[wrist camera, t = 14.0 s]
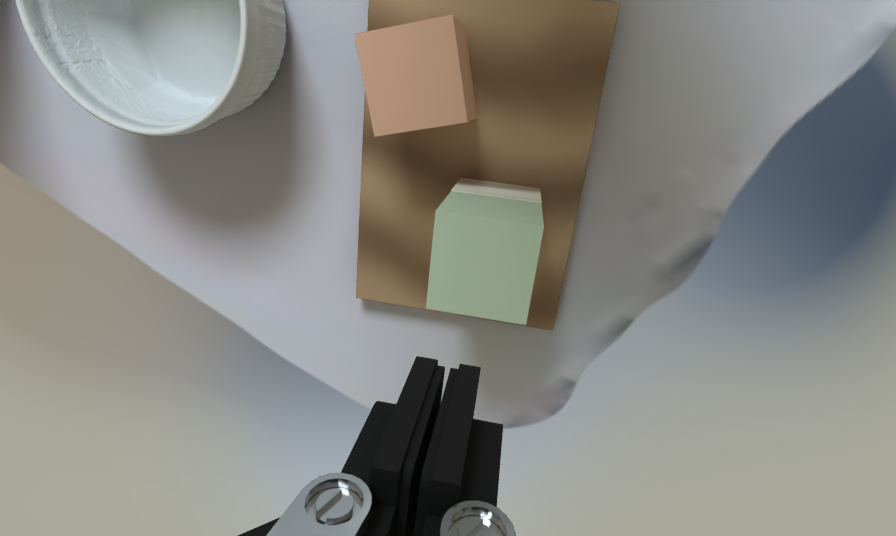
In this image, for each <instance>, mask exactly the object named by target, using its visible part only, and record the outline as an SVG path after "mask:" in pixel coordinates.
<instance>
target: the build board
mask: <svg viewBox="0 0 896 536" xmlns="http://www.w3.org/2000/svg"><path fill="white" fill-rule="evenodd" d="M619 5H620V3H618V2H607V1H596V0H369V9H368V31H372V30H377V29H382V28H387V27H392V26H397V25H402V24H407V23H412V22H417V21H422V20H427V19H432V18H437V17H442V16H447V15H452V14H453V15H454V16H455V17H456V18H457V19H458V20H459V21H460V22H461V23H462V24H463V25H464V26H465V28H466V35H467V43H468V51H469V59H470V66H471V74H472V82H473V90H474V97H475V105H476V113H477V118H475V119H473V120H471V121H469V122H467V123H460V124H454V125H447V126H441V127H434V128H428V129H421V130H415V131H408V132H402V133H395V134H389V135H382V136H376V137H374V132H373V127H372V122H371V117H370V111H369V106H368V101H367V96H366V91H365V101H364V124H363V147H362V170H361V193H360V217H359V240H358V263H357V286H356V298H360V299H366V300H372V301H379V302H385V303H391V304H397V305H403V306H409V307H415V308H421V309H426V301H427V291H428V281H429V271H430V261H431V251H432V241H433V231H434V221H435V211H436V210H437V208H438V207H439V206H440V205H441V203H442V202H443V201H444V199H445V198H446V197H447V196H448V194H449V193H450V192H451V191H458V192H465V193H472V194H479V195H487V196H494V197H501V198H508V199H515V200H523V201H530V202H537V203H542V213H543V222H544V230H543V235H542V241H541V246H540V252H539V257H538V263H537V268H536V273H535V279H534V284H533V290H532V295H531V301H530V306H529V312H528V317H527V323H526V325H524V326H530V327H536V328H542V329H548V330H553V327H554V322H555V318H556V313H557V308H558V303H559V298H560V293H561V288H562V283H563V278H564V274H565V269H566V264H567V259H568V254H569V249H570V244H571V239H572V235H573V230H574V225H575V220H576V215H577V210H578V205H579V200H580V196H581V191H582V186H583V181H584V176H585V171H586V166H587V161H588V156H589V152H590V147H591V142H592V137H593V132H594V127H595V122H596V117H597V113H598V108H599V103H600V98H601V93H602V88H603V83H604V78H605V74H606V69H607V64H608V59H609V54H610V49H611V44H612V39H613V34H614V30H615V25H616V20H617V15H618V10H619ZM427 310H432V309H427ZM433 311H438V310H433ZM439 312H444V311H439ZM445 313H450V312H445ZM451 314H456V313H451ZM457 315H462V314H457ZM463 316H468V315H463ZM469 317H474V316H469ZM475 318H480V317H475ZM481 319H486V318H481ZM487 320H492V319H487ZM493 321H498V320H493ZM499 322H504V321H499ZM506 323H510V322H506ZM512 324H516V323H512ZM518 325H522V324H518Z"/></svg>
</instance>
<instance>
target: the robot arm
mask: <svg viewBox="0 0 896 536" xmlns="http://www.w3.org/2000/svg"><path fill="white" fill-rule="evenodd" d="M480 369H481V367H475V366H470V365H464V364H460V366H459V369H454V368H451V369H450V373H449V376H448V380H447V384H446V387H445V391H444V394H443V398H442V401H441V396H442V388H443V379H444V371H445V367H443V366H438V360H436V359H430V358H424V357H419V356H417V357H416V359H415V361H414V364H413V366H412V368H411V371H410V373H409V375H408V378H407V380H406V383H405V385H404V387H403V390H402V392H401V395H400V397H399V399H398V402H397V404H391V403H386V402H380V401H377V402H376V403H375V404H374V406H373V408H372V410H371V412H370V414H369V416H368V418H367V420H366V422H365V425H364V426H363V428H362V431H361V433H360V435H359V437H358V439H357V441H356V443H355V445H354V447H353V449H352V451H351V453H350V455H349V457H348V459H347V461H346V463H345V465H344V467H343V469H342V472H341V473H330V474H327V475H323V476H320V477H318V478H316V479H314V480H312V481H311V482H309V483H308V484H307V485H306V486H305V487H304V488H303V489H302V491H301V492H300V493H299V494H298V495H297V497H296V498H295V499H294V501H293V502H292V503H291V504H290V506H289V507H288V508H287V510H286V511H285V512H284V514H283V515H282V516H281V517H280V518H278V519H275V520H273V521H271V522H268V523H266V524H264V525H261V526H259V527H257V528H254V529H252V530H250V531H247V532H245V533H243V534H241V535H238V536H516V533H515V530H514V527H513V524H512V522H511V521H510V520H509V518H508V517H507V515H506V514H505V513H503V512H502V511H501V510H500V509H499V508H497V494H498V481H499V469H500V457H501V444H502V432H503V424H498V423H492V422H487V421H482V420H476V419H473V416H474V409H475V402H476V396H477V389H478V383H479V376H480ZM440 404H441V405H440Z"/></svg>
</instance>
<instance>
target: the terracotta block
mask: <svg viewBox="0 0 896 536" xmlns="http://www.w3.org/2000/svg"><path fill="white" fill-rule="evenodd" d="M355 40H356V45H357V50H358V55H359V60H360V65H361V70H362V76H363V81H364V86H365V91H366V96H367V101H368V106H369V111H370V117H371V122H372V127H373V132H374V137H376V136H382V135H389V134H395V133H402V132H408V131H415V130H421V129H428V128H434V127H441V126H447V125H454V124H460V123H467V122H469V121H471V120H473V119H475V118H477V113H476V105H475V97H474V90H473V82H472V74H471V66H470V59H469V51H468V43H467V35H466V28H465V26H464V25H463V24H462V23H461V22H460V21H459V20H458V19H457V18H456V17H455V16H454V15H453V14H452V15H447V16H442V17H437V18H432V19H427V20H422V21H417V22H412V23H407V24H402V25H397V26H392V27H387V28H382V29H377V30H372V31H367V32H362V33H357V34H355Z"/></svg>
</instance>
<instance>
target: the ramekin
mask: <svg viewBox="0 0 896 536" xmlns="http://www.w3.org/2000/svg"><path fill="white" fill-rule="evenodd" d="M15 1H16V5H17V8H18V12H19V15H20V18H21V21H22V24H23V26H24V29H25V32H26V34H27V36H28V38H29V40H30V42H31V44H32V46H33V48H34V50H35V52H36V54H37V56H38V57H39V59H40V60H41V62H42V63H43V65H44V66H45V68H46V69H47V71H48V72H49V73H50V75H51V76H52V77H53V79H54V80H55V81H56V82H57V83H58V85H59V86H60V87H61V88H62V89H63V90H64V91H65V92H66V93H67V94H68V95H69V96H70V97H71V98H72V99H73V100H74V101H76V102H77V103H78V104H79V105H80V106H82V107H83V108H84V109H85V110H86V111H88V112H89V113H91V114H92V115H94V116H96V117H97V118H99V119H100V120H102V121H104V122H106V123H108V124H110V125H112V126H114V127H117V128H119V129H122V130H125V131H128V132H131V133H135V134H140V135H146V136H175V135H183V134H189V133H192V132H196V131H198V130H201V129H203V128H206V127H208V126H209V125H211V124H213V123H214V122H216V121H217V120H219V119H222V118H225V117H228V116H230V115H233V114H236V113H238V112H240V111H242V110H243V109H244V108H246V107H248V106H250V105H251V104H252V103H254V101H255V100H256V99H258V98H260V97H261V96H262V94H263V92H264V91H266V90H267V89H268V88H269V86H270V83H271V81H272V80H274V78H275V76H276V73H277V70H278V69H279V68H280V63H281V59H282V57H283V55H284V46H285V43H286V23H285V19H286V15H285V11H284V4H283V0H15Z"/></svg>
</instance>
